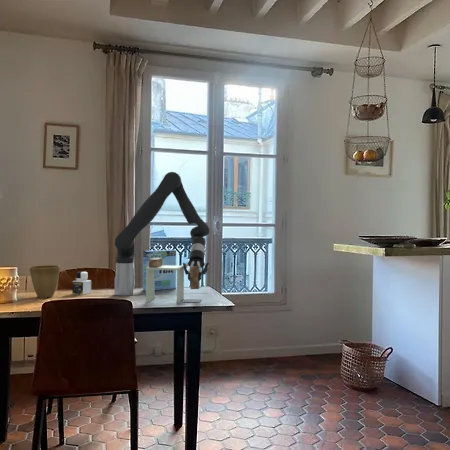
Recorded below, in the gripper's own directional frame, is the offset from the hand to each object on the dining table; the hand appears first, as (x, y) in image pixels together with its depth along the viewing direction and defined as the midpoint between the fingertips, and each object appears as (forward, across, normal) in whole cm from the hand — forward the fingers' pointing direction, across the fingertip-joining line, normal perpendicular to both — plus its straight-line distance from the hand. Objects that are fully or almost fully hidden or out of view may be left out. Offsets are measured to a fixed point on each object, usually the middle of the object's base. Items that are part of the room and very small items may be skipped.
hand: (194, 279), depth 226 cm
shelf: (+5, -16, +10) cm, 19 cm away
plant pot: (+2, -80, +10) cm, 80 cm away
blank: (+2, 0, +5) cm, 5 cm away
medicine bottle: (-7, -65, +20) cm, 69 cm away
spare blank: (-7, -20, -2) cm, 21 cm away
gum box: (-22, -27, +36) cm, 50 cm away
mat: (+6, -2, +9) cm, 11 cm away
